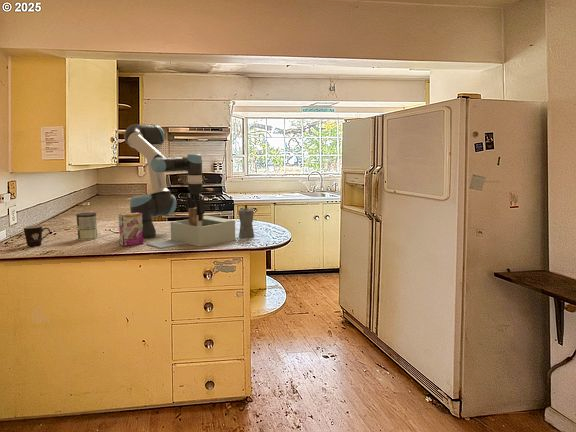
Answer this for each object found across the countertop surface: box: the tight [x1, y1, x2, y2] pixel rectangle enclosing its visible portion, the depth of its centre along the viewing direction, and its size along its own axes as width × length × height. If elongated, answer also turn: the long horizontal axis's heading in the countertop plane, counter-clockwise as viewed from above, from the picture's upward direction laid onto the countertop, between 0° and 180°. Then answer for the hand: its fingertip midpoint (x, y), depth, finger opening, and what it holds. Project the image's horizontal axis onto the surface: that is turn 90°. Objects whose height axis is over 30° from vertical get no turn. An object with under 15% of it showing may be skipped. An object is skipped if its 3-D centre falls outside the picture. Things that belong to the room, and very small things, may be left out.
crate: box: [170, 215, 236, 248], centre depth 263 cm, size 26×24×11 cm
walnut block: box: [187, 206, 204, 226], centre depth 259 cm, size 5×6×10 cm
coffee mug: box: [22, 225, 51, 247], centre depth 250 cm, size 12×9×10 cm
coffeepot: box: [237, 204, 255, 239], centre depth 272 cm, size 15×9×18 cm, turn 26°
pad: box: [146, 239, 186, 250], centre depth 251 cm, size 14×14×1 cm
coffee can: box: [76, 212, 99, 241], centre depth 267 cm, size 10×10×14 cm
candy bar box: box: [118, 212, 144, 247], centre depth 251 cm, size 11×5×16 cm, turn 131°
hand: (196, 226), depth 260 cm, fingers closed on walnut block, 5 cm apart
